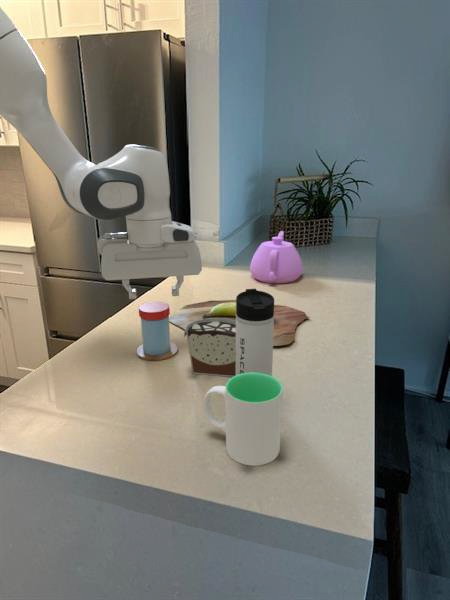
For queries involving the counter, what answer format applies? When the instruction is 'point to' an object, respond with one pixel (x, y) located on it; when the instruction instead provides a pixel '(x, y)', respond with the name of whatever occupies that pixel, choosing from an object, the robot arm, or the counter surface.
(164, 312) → the lid
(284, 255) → the teapot
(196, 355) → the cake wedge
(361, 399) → the counter surface
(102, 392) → the counter surface
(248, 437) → the mug
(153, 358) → the coaster
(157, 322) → the jar
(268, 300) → the travel mug
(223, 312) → the cutting board
